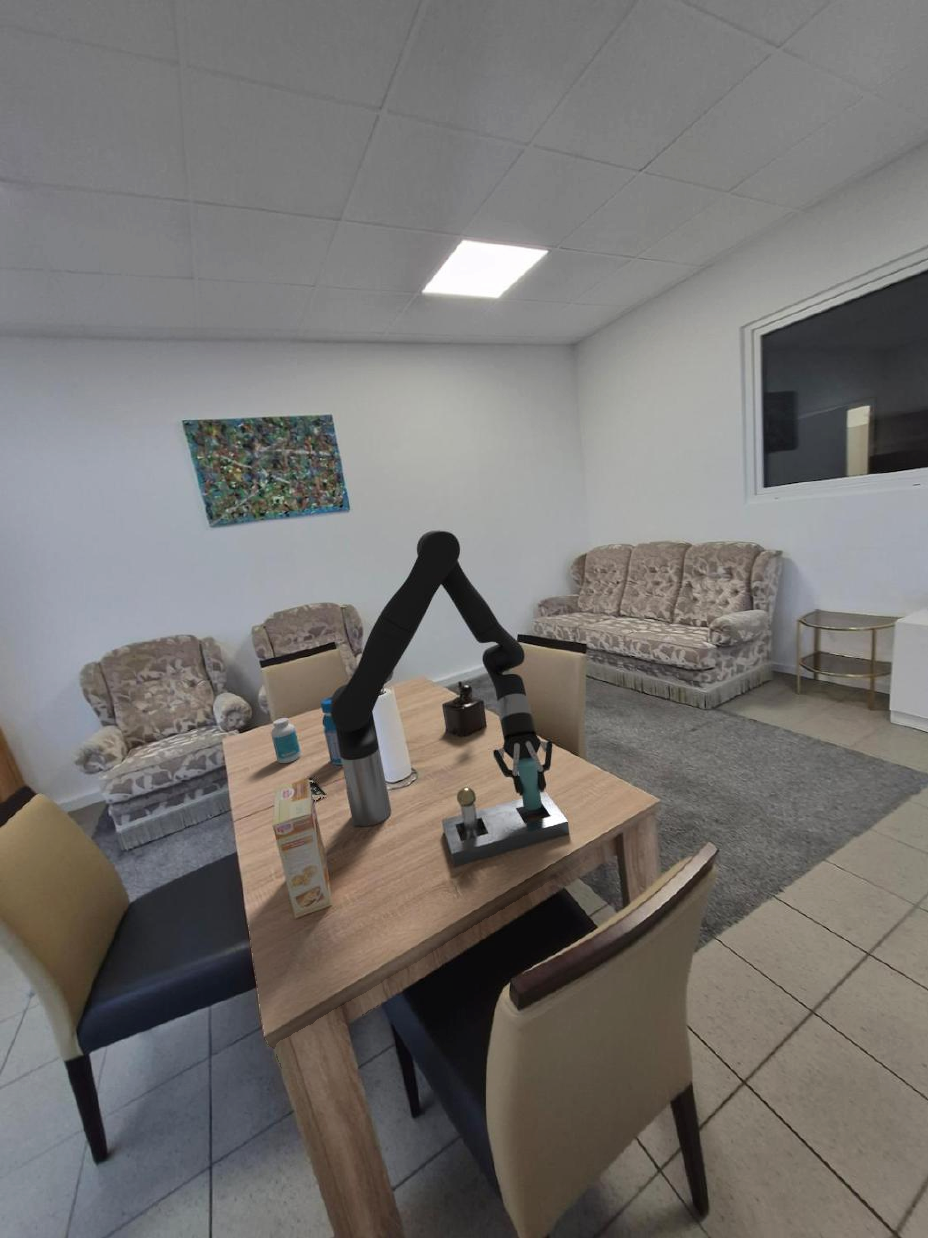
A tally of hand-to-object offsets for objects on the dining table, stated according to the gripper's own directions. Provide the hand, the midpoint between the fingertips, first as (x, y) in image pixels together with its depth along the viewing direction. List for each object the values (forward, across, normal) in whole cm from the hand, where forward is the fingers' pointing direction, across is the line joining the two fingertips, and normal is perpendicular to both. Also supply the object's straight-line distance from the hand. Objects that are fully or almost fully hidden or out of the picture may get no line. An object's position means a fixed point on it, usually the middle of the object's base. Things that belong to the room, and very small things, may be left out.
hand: (531, 792), depth 101 cm
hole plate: (+6, -7, +7) cm, 11 cm away
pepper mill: (-33, -12, +46) cm, 58 cm away
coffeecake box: (+11, -47, +2) cm, 48 cm away
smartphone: (-16, -59, +29) cm, 68 cm away
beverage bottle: (-29, -52, +41) cm, 73 cm away
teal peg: (+1, 0, +4) cm, 5 cm away
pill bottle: (-34, -72, +46) cm, 92 cm away
